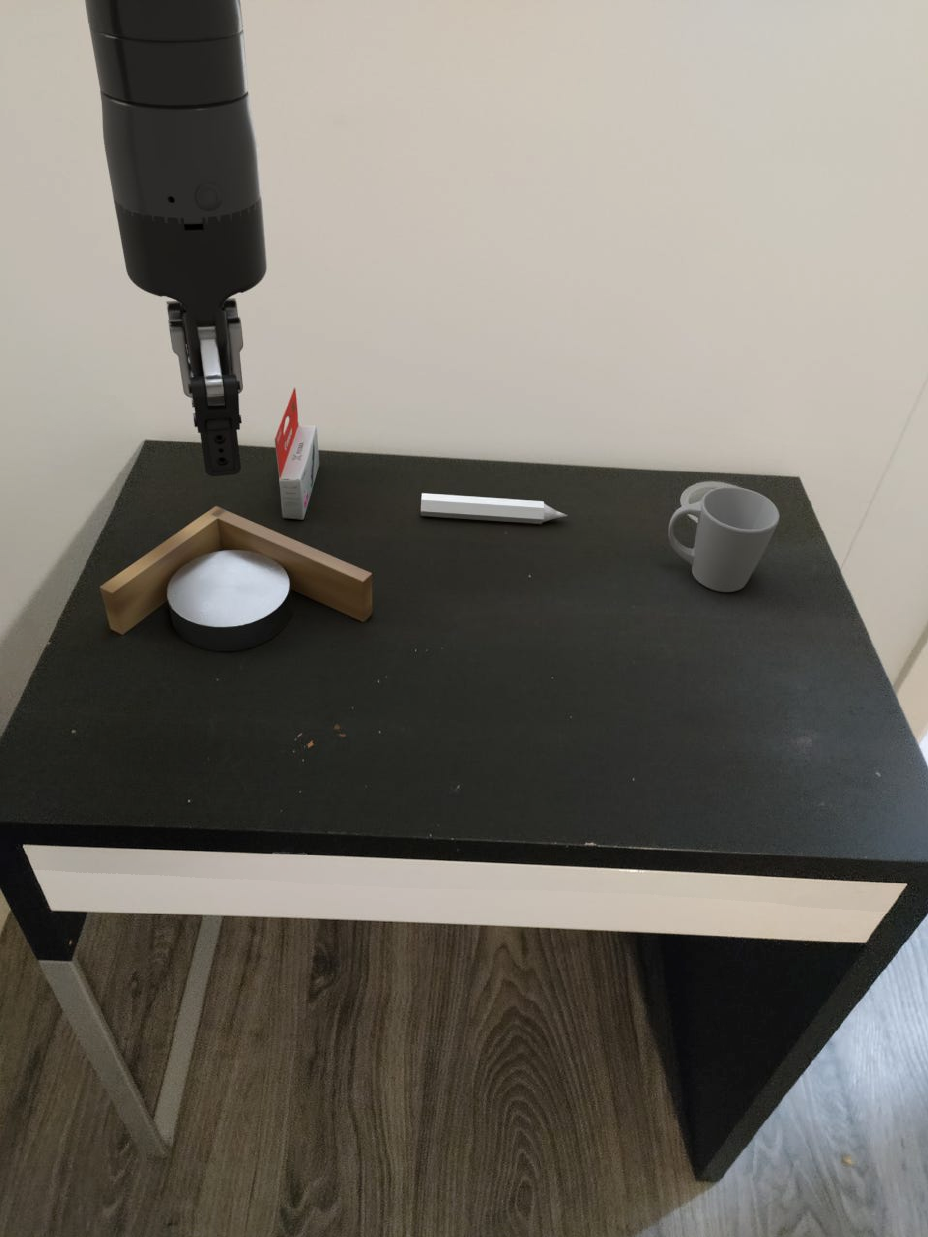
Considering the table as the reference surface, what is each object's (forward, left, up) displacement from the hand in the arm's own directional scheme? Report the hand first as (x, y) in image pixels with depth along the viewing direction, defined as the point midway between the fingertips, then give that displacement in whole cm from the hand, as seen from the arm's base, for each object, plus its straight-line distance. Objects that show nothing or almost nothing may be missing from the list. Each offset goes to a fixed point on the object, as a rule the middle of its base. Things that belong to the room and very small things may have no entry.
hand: (223, 469), depth 60 cm
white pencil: (+38, -2, -25) cm, 45 cm away
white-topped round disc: (+10, +11, -25) cm, 29 cm away
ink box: (+30, +18, -25) cm, 43 cm away
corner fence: (+10, +9, -25) cm, 29 cm away
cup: (+42, -25, -25) cm, 55 cm away
